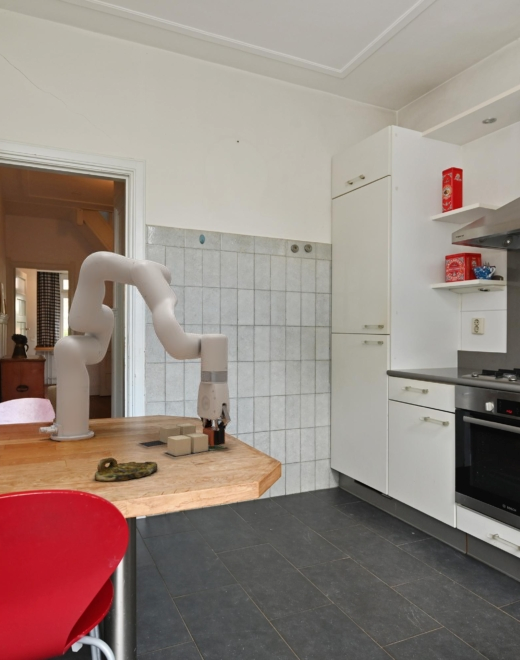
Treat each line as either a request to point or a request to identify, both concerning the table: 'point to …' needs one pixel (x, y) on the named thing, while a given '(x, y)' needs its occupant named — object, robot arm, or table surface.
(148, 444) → the left rack
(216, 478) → the table surface
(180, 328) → the robot arm
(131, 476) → the seal
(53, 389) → the stone cup
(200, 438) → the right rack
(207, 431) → the rust orange cube
